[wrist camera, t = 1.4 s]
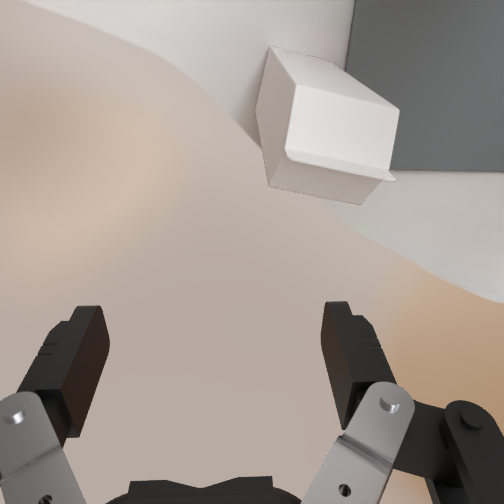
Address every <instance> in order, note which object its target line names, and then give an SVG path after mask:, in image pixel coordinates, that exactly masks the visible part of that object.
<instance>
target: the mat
mask: <svg viewBox="0 0 504 504" xmlns="http://www.w3.org/2000/svg"><path fill="white" fill-rule="evenodd" d="M345 72H346V73H347V74H349V75H350V76H352V77H353V78H355V79H356V80H358V81H359V82H360V83H362V84H363V85H365V86H366V87H368V88H369V89H371V90H372V91H373V92H375V93H376V94H378V95H379V96H381V97H382V98H384V99H385V100H386V101H388V102H389V103H391V104H392V105H394V106H395V107H397V108H398V109H399V111H400V113H399V119H398V124H397V129H396V135H395V140H394V146H393V151H392V156H391V162H390V167H389V169H395V170H449V171H503V172H504V0H355V6H354V13H353V19H352V26H351V33H350V40H349V47H348V53H347V60H346V67H345Z"/></svg>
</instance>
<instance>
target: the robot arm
mask: <svg viewBox="0 0 504 504" xmlns="http://www.w3.org/2000/svg"><path fill="white" fill-rule="evenodd" d="M321 346H322V352H323V356H324V360H325V363H326V368H327V372H328V376H329V380H330V384H331V388H332V392H333V396H334V399H335V404H336V408H337V412H338V416H339V419H340V424H341V428H342V430H345V432H344V434H343V435H342V436H339V437H338V438H337V440H336V441H335V442H334V444H333V446H332V448H331V450H330V451H329V453H328V455H327V457H326V459H325V460H324V462H323V464H322V466H321V468H320V469H319V471H318V473H317V475H316V476H315V478H314V480H313V482H312V484H311V486H310V487H309V489H308V491H307V493H306V495H305V496H304V498H303V500H302V501H301V500H300V499H299V498H297V497H296V496H294V495H292V494H291V493H289V492H287V491H284V490H282V489H279V488H275V487H273V481H272V476H265V477H264V476H260V477H237V478H234V479H231V480H227V481H224V482H221V483H218V484H214V485H211V486H208V487H205V488H196V487H192V486H188V485H184V484H180V483H176V482H172V481H168V480H150V481H131V482H130V486H129V490H128V493H127V494H124V495H121V496H119V497H117V498H114V499H113V500H111V501H110V502H108V503H106V504H379V502H380V500H381V498H382V495H383V492H384V490H385V487H386V485H387V483H388V480H389V477H390V475H391V473H392V470H393V469H396V470H400V471H403V472H407V473H410V474H413V475H417V476H420V477H424V478H425V481H426V484H427V487H428V490H429V493H430V496H431V499H432V502H433V504H504V436H503V435H502V433H501V431H500V429H499V427H498V425H497V424H496V422H495V420H494V419H493V417H492V416H491V415H490V414H489V413H488V412H487V411H486V410H484V409H483V408H482V407H480V406H478V405H476V404H474V403H471V402H468V401H462V400H458V401H453V402H451V403H449V404H448V405H447V407H446V408H445V409H443V408H439V407H435V406H431V405H427V404H423V403H420V402H417V401H415V400H413V399H412V397H411V396H410V395H409V393H408V392H407V391H406V390H404V389H403V388H402V387H400V386H398V385H397V383H396V381H395V378H394V376H393V374H392V371H391V369H390V366H389V364H388V362H387V359H386V357H385V355H384V352H383V350H382V348H381V345H380V343H379V340H378V339H377V336H376V333H375V331H374V328H373V326H372V325H371V324H370V323H369V322H368V321H367V320H366V319H365V318H364V317H363V316H362V315H352V312H351V310H350V307H349V304H348V302H346V301H340V302H326V303H325V307H324V314H323V321H322V329H321ZM109 347H110V340H109V334H108V330H107V326H106V322H105V319H104V315H103V311H102V308H101V306H77V307H76V308H75V310H74V312H73V314H72V316H71V318H70V320H69V321H61V322H60V323H59V324H57V325H56V326H55V327H54V328H53V329H52V330H51V331H50V332H49V334H48V336H47V337H46V339H45V341H44V343H43V346H41V348H40V350H39V352H38V356H36V357H35V359H34V361H33V363H32V365H31V366H30V368H29V370H28V372H27V374H26V376H25V377H24V379H23V381H22V383H21V385H20V387H19V388H18V390H17V392H16V393H15V394H12V395H10V396H8V397H6V398H4V399H3V400H1V401H0V487H1V490H2V493H3V497H4V500H5V504H86V501H85V499H84V497H83V494H82V492H81V490H80V488H79V485H78V483H77V481H76V479H75V477H74V474H73V472H72V470H71V467H70V465H69V463H68V461H67V459H66V456H65V454H64V452H63V446H64V443H65V441H66V438H78V437H79V436H80V434H81V431H82V428H83V425H84V422H85V419H86V417H87V414H88V410H89V408H90V405H91V402H92V399H93V396H94V393H95V391H96V388H97V385H98V382H99V379H100V376H101V373H102V370H103V368H104V365H105V362H106V359H107V356H108V353H109Z"/></svg>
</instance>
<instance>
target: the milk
mask: <svg viewBox="0 0 504 504" xmlns="http://www.w3.org/2000/svg"><path fill="white" fill-rule="evenodd" d="M255 113H256V119H257V125H258V130H259V136H260V141H261V147H262V152H263V158H264V163H265V168H266V174H267V180H268V185H269V187H273V188H277V189H282V190H287V191H292V192H297V193H302V194H307V195H312V196H317V197H322V198H327V199H332V200H337V201H342V202H347V203H352V204H356V205H361V204H362V203H363V202H364V200H365V199H366V198H367V197H368V196H369V194H370V193H371V192H372V191H373V190H374V188H375V187H376V186H377V185H378V184H379V183H380V181H381V180H384V181H389V182H395V181H396V179H395V177H394V176H393V175H392V174H391V173H390V171H389V167H390V162H391V156H392V151H393V146H394V140H395V135H396V129H397V124H398V119H399V113H400V111H399V109H398V108H397V107H395V106H394V105H392V104H391V103H389V102H388V101H386V100H385V99H384V98H382V97H381V96H379V95H378V94H376V93H375V92H373V91H372V90H371V89H369V88H368V87H366V86H365V85H363V84H362V83H360V82H359V81H358V80H356V79H355V78H353V77H352V76H350V75H349V74H347V73H346V72H344V71H343V70H342V69H340V68H339V67H337V66H336V65H334V64H333V63H331V62H330V61H326V60H323V59H319V58H315V57H311V56H307V55H303V54H299V53H295V52H292V51H288V50H284V49H280V48H276V47H272V46H270V47H269V51H268V55H267V59H266V64H265V68H264V73H263V77H262V81H261V86H260V90H259V95H258V99H257V103H256V108H255Z"/></svg>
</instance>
